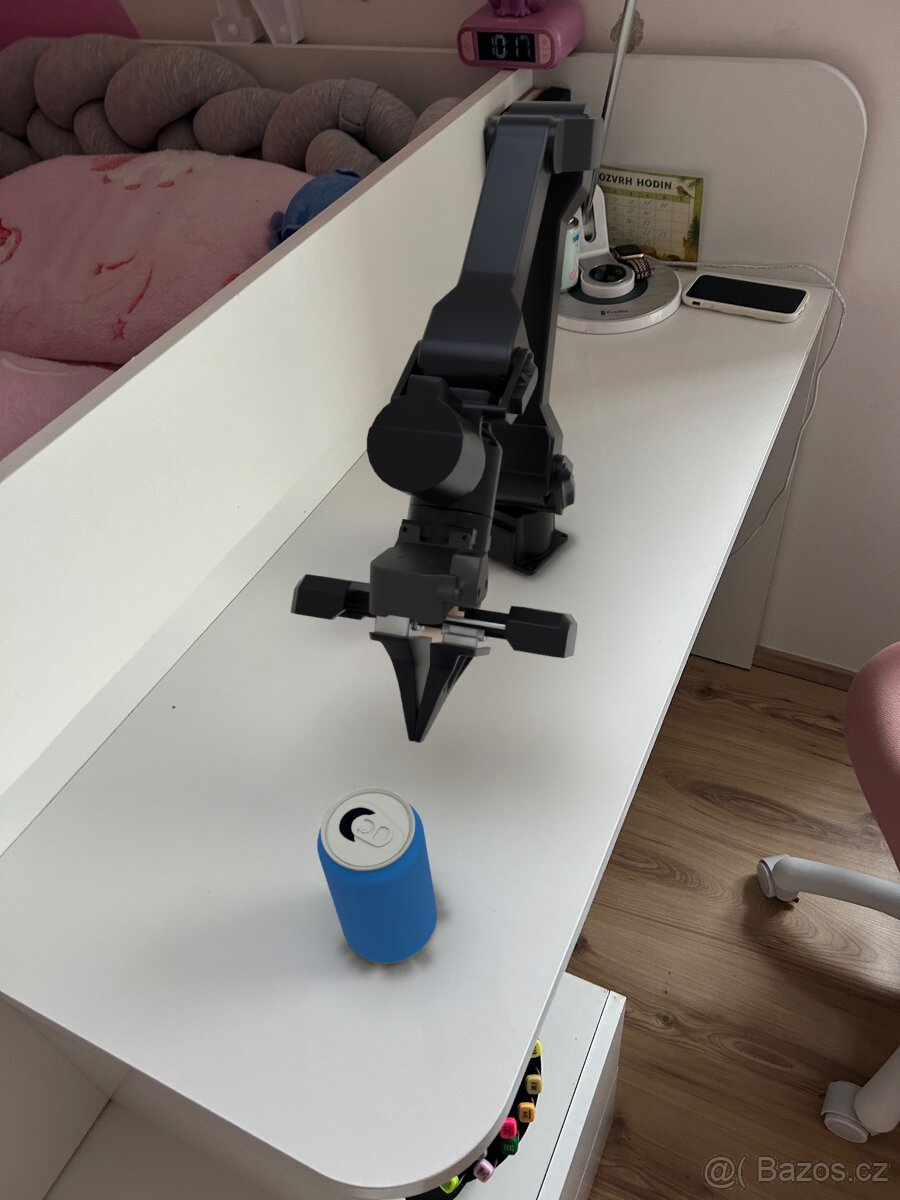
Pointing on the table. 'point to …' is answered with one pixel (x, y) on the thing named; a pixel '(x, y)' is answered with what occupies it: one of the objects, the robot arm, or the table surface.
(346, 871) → the beverage can
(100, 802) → the table surface
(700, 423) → the table surface
